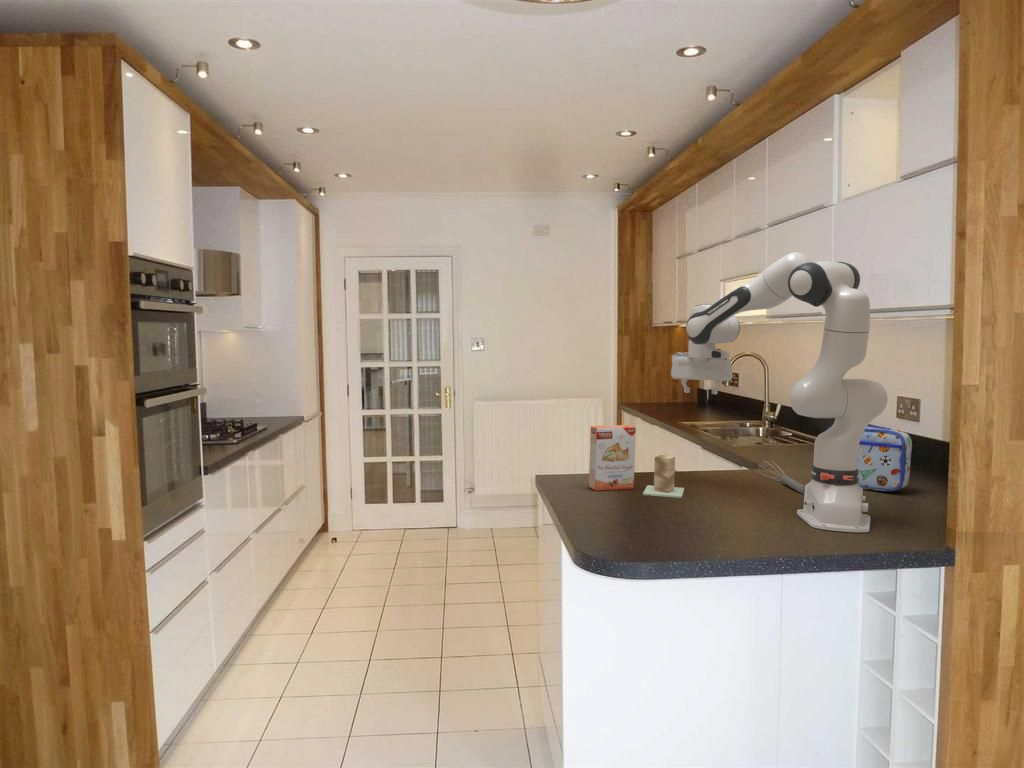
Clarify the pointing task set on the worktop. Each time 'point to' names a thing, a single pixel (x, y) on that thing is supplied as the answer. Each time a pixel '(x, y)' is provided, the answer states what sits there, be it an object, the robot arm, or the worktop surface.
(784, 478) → the kitchen whisk
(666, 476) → the oak pillar
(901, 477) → the lunch box
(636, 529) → the worktop surface
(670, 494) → the mat
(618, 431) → the cracker box
